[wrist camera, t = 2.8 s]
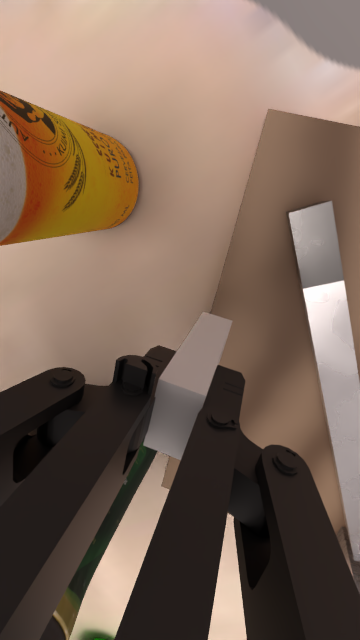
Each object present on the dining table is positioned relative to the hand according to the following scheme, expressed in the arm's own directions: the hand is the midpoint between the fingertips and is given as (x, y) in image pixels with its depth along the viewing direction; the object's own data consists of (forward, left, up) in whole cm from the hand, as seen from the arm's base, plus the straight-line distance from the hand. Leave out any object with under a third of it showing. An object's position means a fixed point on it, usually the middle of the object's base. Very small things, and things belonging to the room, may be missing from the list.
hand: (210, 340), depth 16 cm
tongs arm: (+9, -3, -6) cm, 11 cm away
